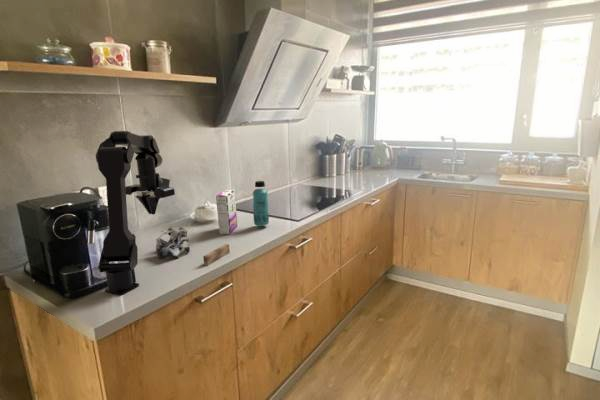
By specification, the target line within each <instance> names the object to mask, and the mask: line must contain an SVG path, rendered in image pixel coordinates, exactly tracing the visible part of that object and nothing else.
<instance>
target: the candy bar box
mask: <svg viewBox="0 0 600 400" xmlns="http://www.w3.org/2000/svg"><path fill="white" fill-rule="evenodd" d="M235 191H236V190H235V189H223V190H222V191H221V192H219V193H218V194H216V196H215V200H216V210H217V221H218V233H219V235H231V234H232V233H233V232H234V231H235V230H236V228H237V227H238V218H237V217H238V216H237V205H236V194H235Z"/></svg>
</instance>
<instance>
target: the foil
mask: <svg viewBox="0 0 600 400" xmlns="http://www.w3.org/2000/svg"><path fill="white" fill-rule="evenodd" d="M188 231H189V230H187V229H185V228H183V227H179V228H178V229H173V228H172V226H170V227H169V228H168V229H167V230H166V231H165V232H164V231H163V230H161V232H162V233H163V234H161V235H160V236H158V237H157V238H156V245H155V251H156V256H157V258H158V259H162V256H163V255H165V256H167V255H168V254H169V253H171V254H172V256H174V258H176V259H177V258H178V259H180V258H182V257H184V256H185V255H187V254H189V253H190V251H191V248H190V246H191V244H189V243H190V242H191V241H190V239H189V238H187V236H188ZM166 234H167V235H168V236H170V237H169V240H168V241H166V240H164V239H162V237H163V235H166ZM185 238H187V239H185ZM189 241H190V242H189Z"/></svg>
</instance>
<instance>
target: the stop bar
mask: <svg viewBox="0 0 600 400" xmlns="http://www.w3.org/2000/svg"><path fill="white" fill-rule="evenodd" d="M228 254H230V244H229V243H225V244H223V245H221V246H219V247H217V248H216V249H214V250H212V251H210V252H209V253H207V254H205V255H203V266H210V265H212V264H213V263H215V262H216V261H218V260H219V259H221V258H223V257H225V256H227V255H228Z"/></svg>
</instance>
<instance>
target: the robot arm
mask: <svg viewBox="0 0 600 400" xmlns="http://www.w3.org/2000/svg"><path fill="white" fill-rule="evenodd" d="M95 153H96V154H95V160H96V162H97V167H98V171H100V173H101V175H103V177H104V178H105V185H106V186H105V187H106V202H107V218H108V233H107V234H106V236H105V237H104V238H103V239H104V240H103V241H102V250H101V252H100V253H101V254H100V257H99V262H98V271H99V273H105V275H106V281H107V288H105V289H104V292H107V293H109V294H110V293H111V294H114V295H118V296H122V295H124V294H126V293H128V292H129V291H132V290H133V289H136V288H137V287H138V286H140V283H137V279H136V273H135V268H136V267H137V265H138V261H139V260H138V259H139V257H138V253H139V251H138V245H137V244H136V241H137V240H136V235H135V233H132V232H131V230H129V226H128V225H129V221H128V206H127V204H128V203H127V195H129V196H131V195H132V194H133V193H136V195H135V198H136V199H137V200H138V201H139V202H140V203H141V204H142V206H143V207H144V209H145V210H146V212H147V213H148V214H149V215H153V216H154V215H155V214H156V212H157V208H158V203H159V201H160V199H165V198H168V197H172V196H175V195H176V194H175V189H174V187H173V186H170V182H171V180H170V178H169V179H168V178H164V177H160V173H159V172H157V171H156V168H158V167H161V166H162V163H163V157H162V155H161V154H160V153H161V152H160V149H159V146H158V143H157V141H156V138H155V137H154V136H153V135H152V134H151V135H150V134H145V135H138V134H135V133H132V132H131V131H128V130H115V131H112V132H110V135H109V136H108V138H106V139H105V140H104V141H102V142H101V143H100V144H99V146H98V148H97V151H96V152H95ZM134 155H136V156H135V158H134ZM133 158H134V159H135V161H136V166H137V167H136V168H137V174H136V175H135V178H136V179H138V183H139V184H137V183H136V184H131V185H128V186H126V178H127V176H128V174H129V173H130V171H131V166H132V165H131V164H132V162H133ZM111 262H112V263H111ZM115 262H116V263H115Z"/></svg>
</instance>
